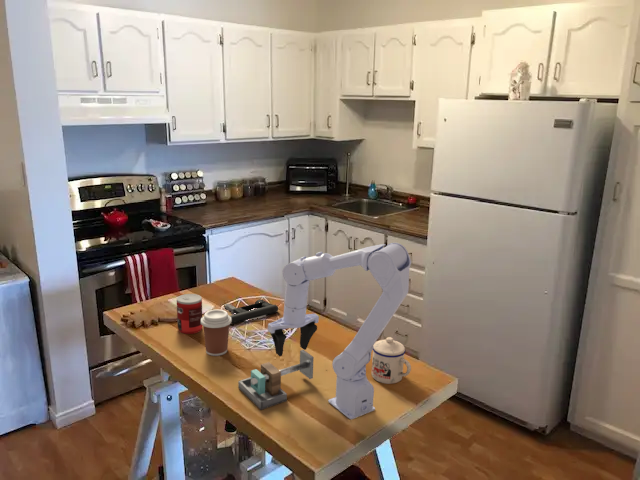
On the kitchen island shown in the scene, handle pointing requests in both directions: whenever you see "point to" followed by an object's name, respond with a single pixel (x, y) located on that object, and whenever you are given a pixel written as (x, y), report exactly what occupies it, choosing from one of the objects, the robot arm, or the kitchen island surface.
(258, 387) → the block
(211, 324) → the coffee cup
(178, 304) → the canned food
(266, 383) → the bearing block
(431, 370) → the kitchen island surface
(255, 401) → the tray
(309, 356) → the shaft
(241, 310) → the door handle
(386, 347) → the teacup with lid
